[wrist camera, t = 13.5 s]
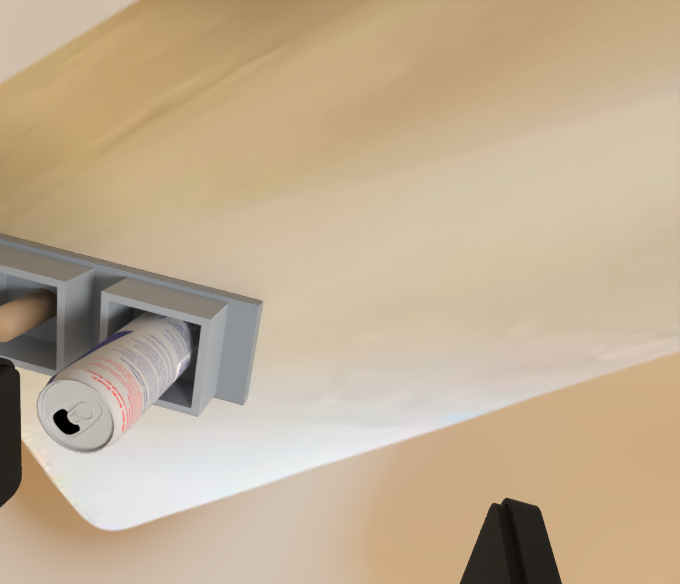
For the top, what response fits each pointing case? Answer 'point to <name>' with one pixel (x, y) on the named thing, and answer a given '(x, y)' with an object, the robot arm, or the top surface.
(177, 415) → the top surface
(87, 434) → the energy drink
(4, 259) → the grey divided tray
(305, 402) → the top surface
